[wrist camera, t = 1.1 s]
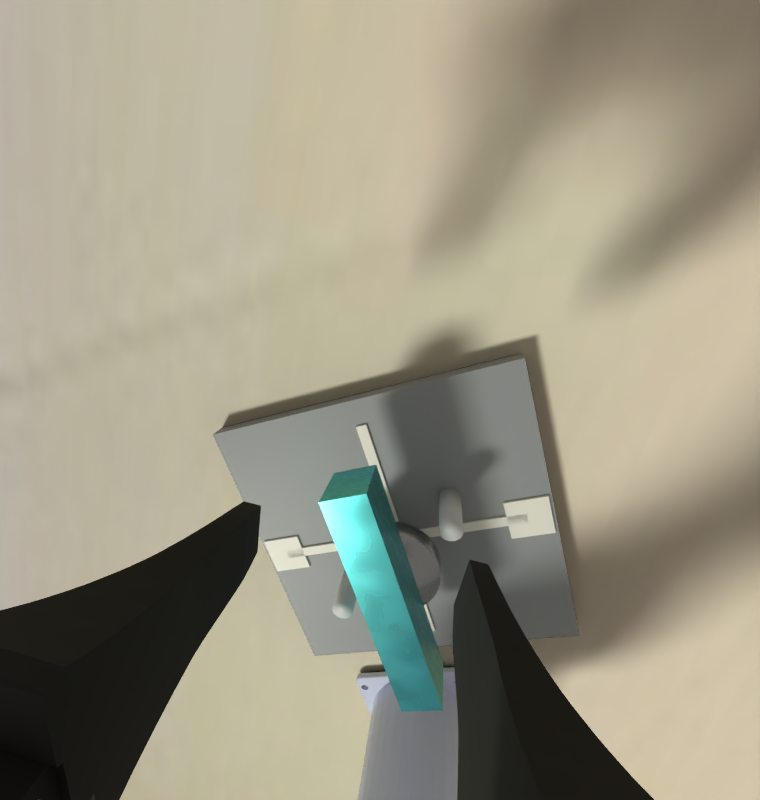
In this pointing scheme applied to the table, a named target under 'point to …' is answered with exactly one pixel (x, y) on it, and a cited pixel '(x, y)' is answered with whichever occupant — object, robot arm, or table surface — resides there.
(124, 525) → the table surface
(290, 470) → the lock board
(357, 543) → the teal rectangular block
